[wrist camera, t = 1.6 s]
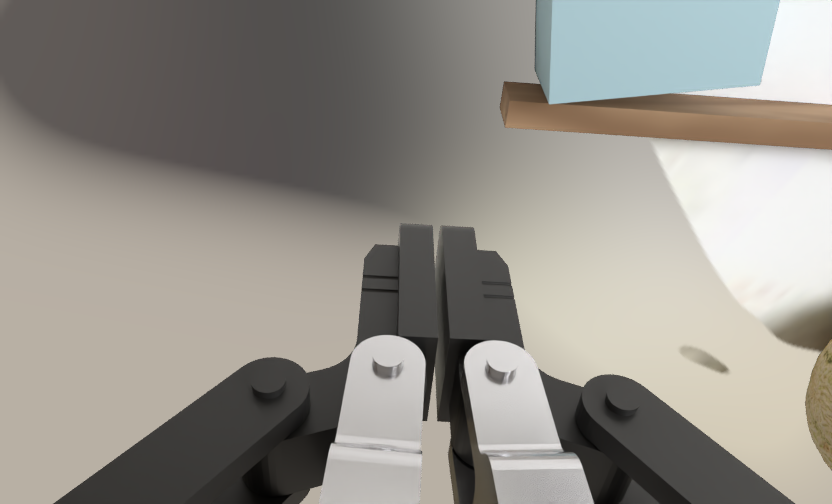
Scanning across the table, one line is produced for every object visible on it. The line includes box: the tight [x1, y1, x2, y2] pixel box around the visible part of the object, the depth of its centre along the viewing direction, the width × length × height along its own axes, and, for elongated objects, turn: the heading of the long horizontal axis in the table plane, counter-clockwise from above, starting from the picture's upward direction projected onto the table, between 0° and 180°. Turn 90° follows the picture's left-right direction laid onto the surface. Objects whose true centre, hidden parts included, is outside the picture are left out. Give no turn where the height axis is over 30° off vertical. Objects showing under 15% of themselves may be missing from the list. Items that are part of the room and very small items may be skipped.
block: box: [535, 0, 780, 104], centre depth 31 cm, size 6×10×4 cm, turn 95°
